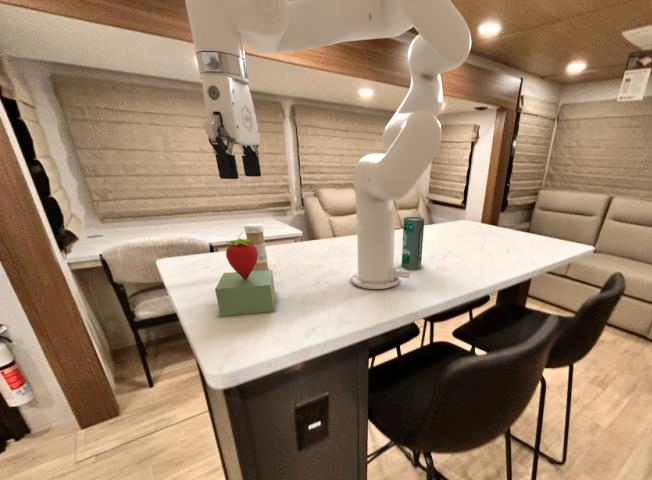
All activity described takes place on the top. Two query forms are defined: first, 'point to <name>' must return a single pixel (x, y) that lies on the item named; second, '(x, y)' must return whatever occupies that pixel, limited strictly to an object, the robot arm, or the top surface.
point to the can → (412, 242)
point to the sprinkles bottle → (257, 244)
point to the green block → (246, 293)
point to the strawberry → (242, 256)
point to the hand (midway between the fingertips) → (242, 177)
